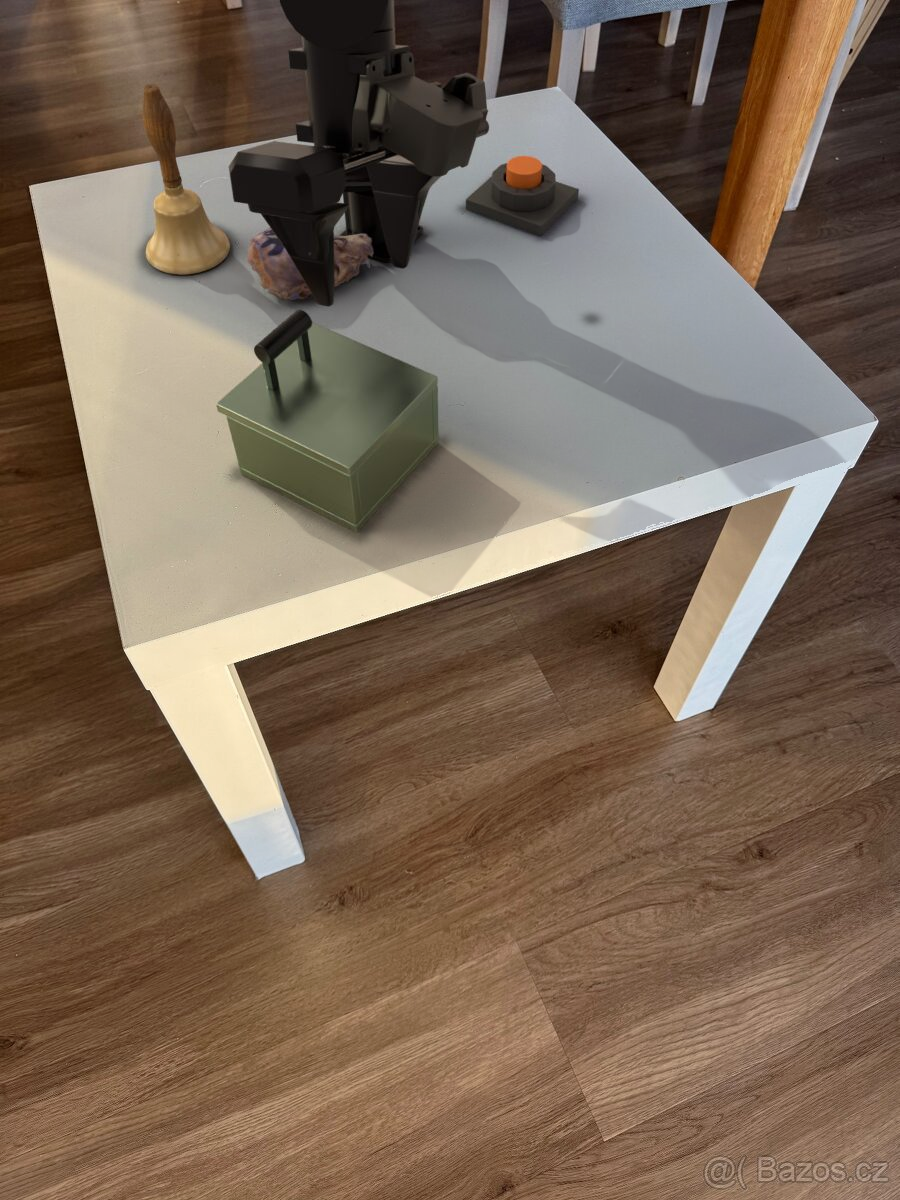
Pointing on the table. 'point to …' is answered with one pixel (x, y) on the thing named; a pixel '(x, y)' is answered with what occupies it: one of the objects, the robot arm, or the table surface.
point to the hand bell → (177, 203)
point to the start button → (524, 172)
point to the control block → (522, 201)
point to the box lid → (325, 393)
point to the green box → (329, 487)
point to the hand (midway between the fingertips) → (364, 285)
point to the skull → (284, 275)
